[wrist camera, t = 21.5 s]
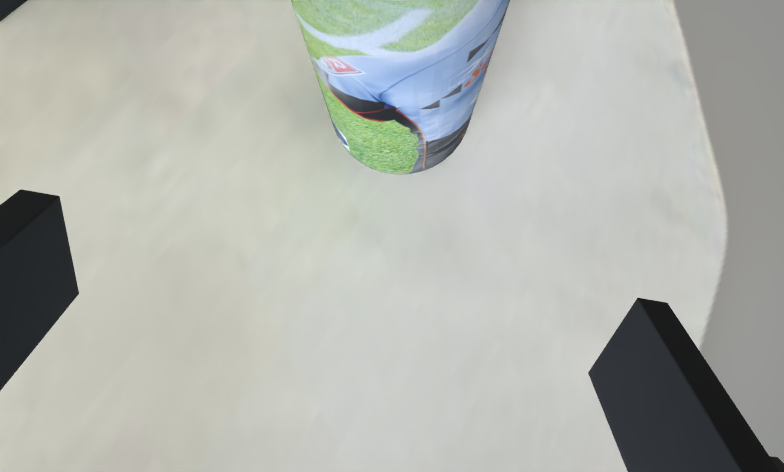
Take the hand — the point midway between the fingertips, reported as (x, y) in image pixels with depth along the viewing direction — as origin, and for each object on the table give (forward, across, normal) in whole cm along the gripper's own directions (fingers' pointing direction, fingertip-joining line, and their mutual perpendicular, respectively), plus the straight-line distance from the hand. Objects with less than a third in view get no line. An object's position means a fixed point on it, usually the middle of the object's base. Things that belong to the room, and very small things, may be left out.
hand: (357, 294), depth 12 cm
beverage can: (+13, 0, 0) cm, 13 cm away
